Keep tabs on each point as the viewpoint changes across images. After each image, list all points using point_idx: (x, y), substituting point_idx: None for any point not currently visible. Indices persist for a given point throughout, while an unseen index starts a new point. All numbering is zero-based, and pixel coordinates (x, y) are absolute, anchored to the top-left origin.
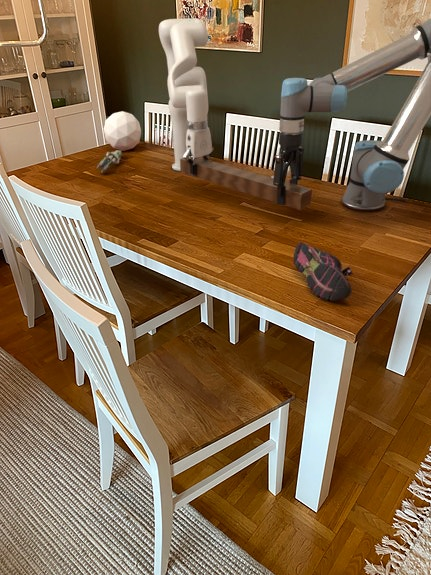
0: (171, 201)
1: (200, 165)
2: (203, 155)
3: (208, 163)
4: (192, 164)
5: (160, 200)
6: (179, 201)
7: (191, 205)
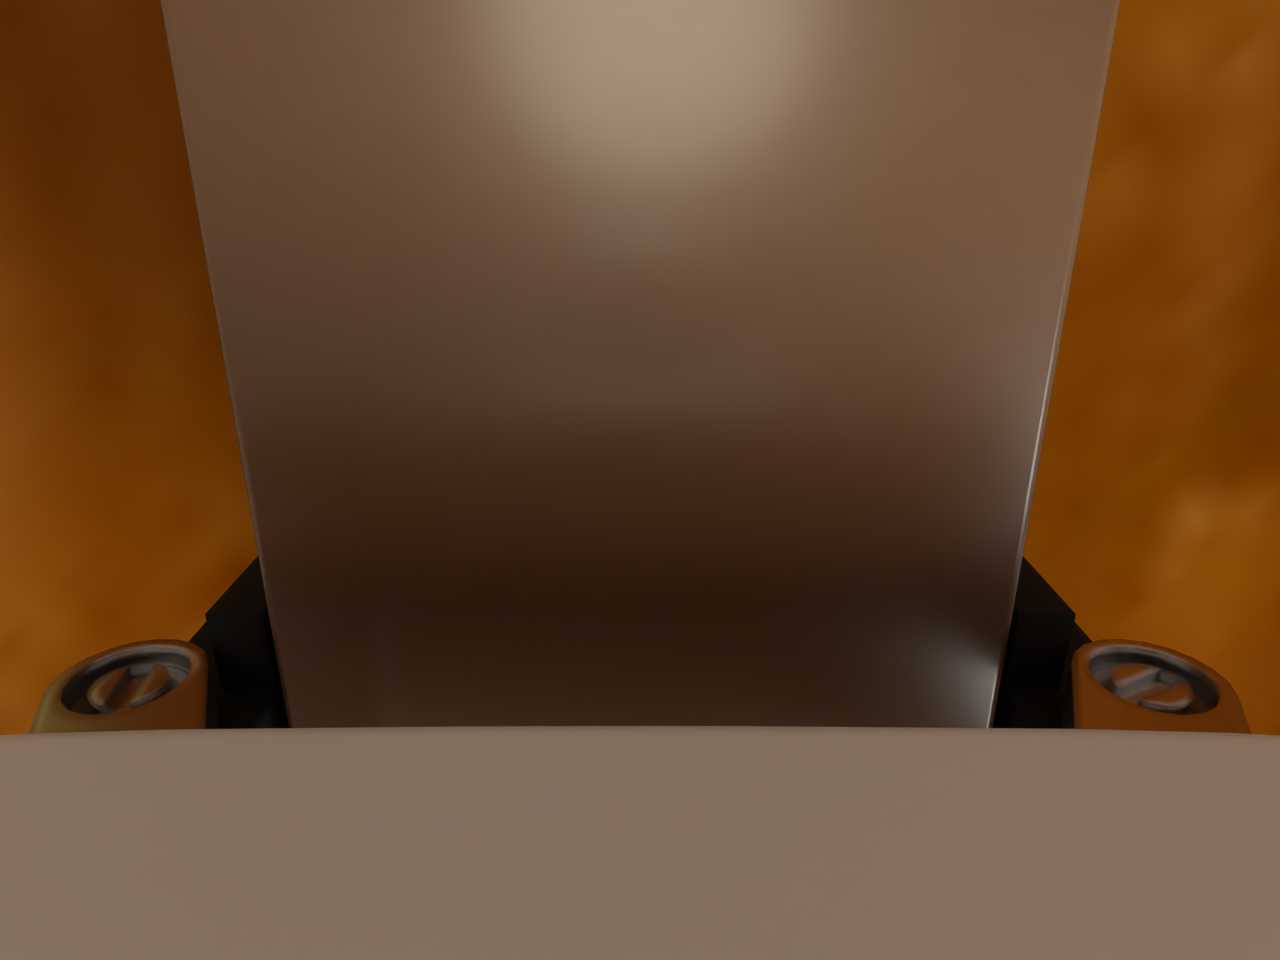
0: (1222, 484)
1: (1040, 387)
2: (718, 731)
3: (608, 243)
4: (1190, 697)
5: (1258, 634)
6: (1163, 385)
7: (1237, 68)
